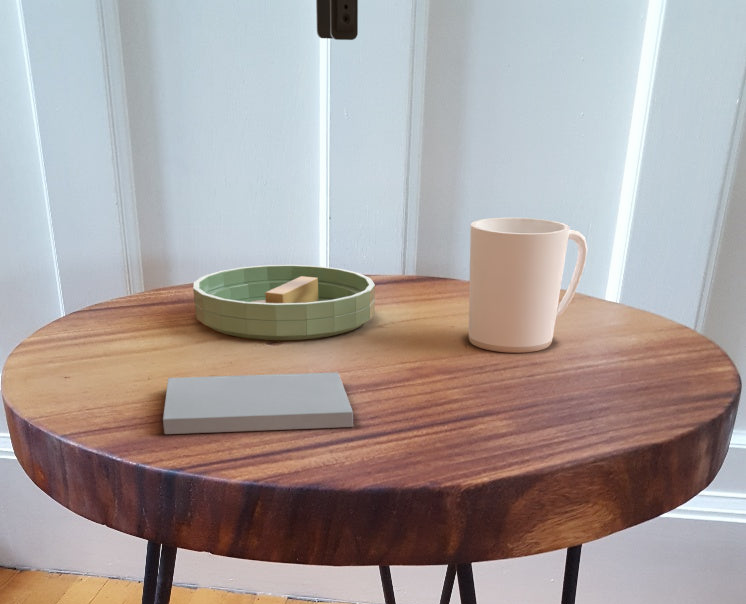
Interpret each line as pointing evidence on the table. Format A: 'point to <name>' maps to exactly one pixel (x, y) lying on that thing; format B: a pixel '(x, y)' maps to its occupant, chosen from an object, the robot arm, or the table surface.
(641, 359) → the table surface
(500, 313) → the mug
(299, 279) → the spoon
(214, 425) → the board
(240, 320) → the pan
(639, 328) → the table surface
